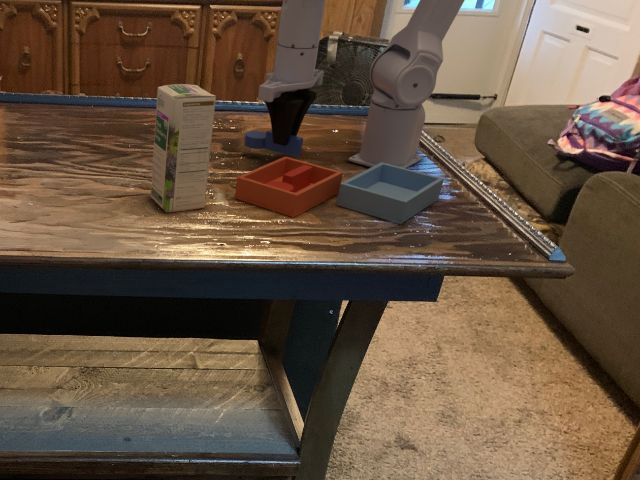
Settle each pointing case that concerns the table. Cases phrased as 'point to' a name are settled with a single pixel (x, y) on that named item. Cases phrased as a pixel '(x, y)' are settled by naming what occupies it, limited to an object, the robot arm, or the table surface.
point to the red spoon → (294, 179)
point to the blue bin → (389, 192)
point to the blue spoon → (266, 142)
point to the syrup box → (182, 146)
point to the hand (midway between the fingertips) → (283, 142)
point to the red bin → (283, 201)
